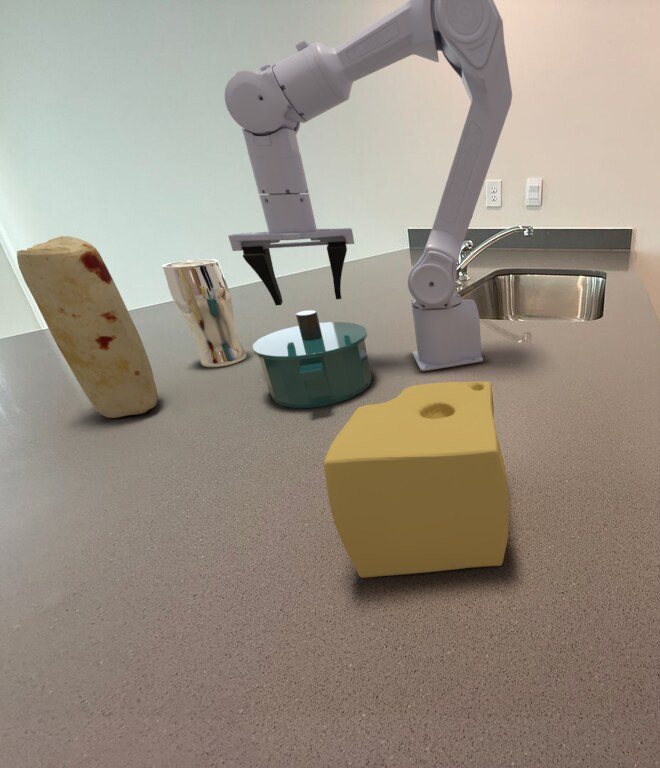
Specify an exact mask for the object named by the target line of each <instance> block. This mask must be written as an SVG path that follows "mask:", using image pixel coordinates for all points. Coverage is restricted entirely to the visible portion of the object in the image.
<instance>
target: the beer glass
mask: <svg viewBox="0 0 660 768" xmlns="http://www.w3.org/2000/svg"><path fill="white" fill-rule="evenodd" d="M162 270H163V272H164V277H165V280H166V284H167V288H168V290H169V294H170V296H171V298H172V301H173V303H174V305H175V307H176V309H177V311H178V313H179V315H180V317H181V318H182V319H183V321H184V323H185V324H186V327H187V328H188V329H189V331H190V332H191V334H192V336H193V338H194V340H195V342H196V345H197V348H198V352H199V353H198V354H199V360H200V365H201V366H202V367H205V368H222V367H227V366H232V365H235V364H237V363H240V362H242V361H244V360H245V359H246V358H247V353H246V351H245V349H244V347H243V346H242V343H241V342H240V339H239V337H238V334H237V330H236V323H235V315H234V306H233V301H232V297H231V296H232V295H231V292H230V289H229V286H228V283H227V281H226V278H225V275H224V273H223V270H222V269H221V265H220V263H219V260H217V259H193V260H192V259H191V260H183V261H176V262H169V263H166V264H165V263H164V264H163V265H162Z"/></svg>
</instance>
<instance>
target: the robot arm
mask: <svg viewBox="0 0 660 768" xmlns="http://www.w3.org/2000/svg"><path fill="white" fill-rule="evenodd" d="M503 21H504V20H503V18H502V17H501V14H500V12H499V9H498V8H497V5H496V3H495V1H494V0H408V1H406V2H405V3H403V4H401V6H399V7H397V8H396V9H394V10H393V11H390V12H389V13H388V14H387V15H385V16H383V17H382V18H380V19H379V20H377V21H376V22H374V23H372V24H371V25H369V26H368V27H366V28H365V29H363V30H361V31H359V32H358V33H357V34H355V35H353V36H352V37H350V38H349V39H347V40H346V41H344V42H342V43H341V44H339V45H338V46H336V47H331V46H328V45H326V44H323V43H322V42H319V41H314V42H313V43H311V44H309V42H307V40H306V39H303V40H301V41H299V42H298V43H296V44H295V49H296V50H297V52H295V53H293V54H292V55H290V56H288V57H286V58H284V59H282V60H280V61H279V62H277V63H275V64H273V65H270V64H268V63H264V64H263V65H260V66H259V70H260V71H261V72H260V73H258V72H256V71H253V70H249V69H248V70H247V69H241V70H240V69H239V70H238V71H236V73H235V74H234V75H233V76H232V77H231V78H230V79H229V80H228V81H227V83H226V85H225V88H224V102H225V106H226V109H227V112H228V113H229V115H230V117H231V118H232V119H233V120H234V122H236V124H237V125H239V126H240V128H241V131H242V134H243V140H244V142H245V146H246V150H247V155H248V159H249V163H250V167H251V170H252V174H253V178H254V182H255V186H256V189H257V194H258V197H259V200H260V205H261V208H262V212H263V217H264V220H265V223H266V227H267V231H253V232H241V233H239V232H238V233H230V234H228V235H227V236H228V240H229V243H230V246H231V250H232V252H240V251H242V253H243V254H242V258H243V260H245V262H246V263H247V264H248V265H249V267H250V268H251V269H252V270H253V272H255V273H256V275H257V276H258V277H259V279H260V280H261V281H262V283H263V285H264V286H265V288H266V289H267V291H268V293H269V294H270V296H271V298H272V300H273V303H274V305H275V306H282V304H283V302H284V301H283V297H282V296H283V295H282V293H281V289H280V287H279V284H278V281H277V278H276V274H275V270H274V266H273V260H272V255H271V250H270V249H280V248H281V249H282V248H297V247H298V248H299V247H315V246H326V252H327V256H328V261H329V265H330V270H331V275H332V280H333V291H334V296H335V300H341V299H342V292H341V290H342V289H341V287H342V285H341V283H342V273H343V269H344V263H345V260H346V255H347V251H348V248H347V245H355V240H354V234H353V233H354V232H353V229H352V228H351V227H349V228H348V227H347V228H317V224H316V219H315V215H314V210H313V205H312V201H311V196H310V193H309V187H308V182H307V178H306V174H305V168H304V164H303V158H302V154H301V152H300V148H299V143H298V137H297V135H298V132H299V130H300V128H301V123H302V124H305V123H308V121H311V120H313V119H314V118H316V117H318V116H321V115H322V114H324V113H326V112H328V111H330V110H332V109H333V108H335V107H337V106H339V105H341V104H343V103H344V102H347V101H348V100H350V97H351V91H352V87H353V84H354V82H356V81H358V80H361V79H363V78H365V77H367V76H369V75H371V74H374V73H375V72H378V71H380V70H382V69H384V68H386V67H389V66H391V65H394V64H395V63H397V62H399V61H402V60H404V59H406V58H409V57H411V56H418V57H421V58H423V59H426V60H429V61H432V62H435V63H440V58H439V53H438V52H441V53H442V55H443V57H444V59H445V60H446V62H447V63H448V64H449V66H450V67H451V68H452V70H454V72H455V73H456V74H457V76H458V77H459V78H460V79H461V82H462V84H463V87H464V89H465V91H466V94H467V96H468V99H469V101H470V106H469V110H468V111H467V115H466V118H465V122H464V125H463V127H462V128H463V129H462V131H461V134H460V138H459V142H458V145H457V148H456V150H455V154H454V156H453V160H452V164H451V167H450V170H449V173H448V177H447V179H446V183H445V186H444V189H443V192H442V196H441V199H440V202H439V205H438V208H437V212H436V215H435V217H434V221H433V224H432V228H431V231H430V234H429V236H428V239H427V242H426V244H425V247H424V250H423V253H422V254H421V256H420V257H419V258H418V259H417V261H416V263H415V264H414V265H413V266H412V267H411V269H410V271H409V272H408V276H407V287H408V291H409V293H410V295H411V296H412V299H411V300H410V303H411V309H412V319H413V326H414V335H415V343H416V350H413V351H412V356H413V357H414V360H415V362H416V364H417V366H418V369H419V370H420V371H421V372H429V371H434V370H440V369H446V368H453V367H458V366H464V365H470V364H476V363H477V364H478V363H482V362H484V358H483V357H482V356H483V355H482V339H481V338H482V337H481V321H480V314H479V310H478V306H477V304H476V302H475V300H473V299H470V298H469V299H462V296H461V295H460V294H459V293H458V291H456V289H457V288H456V287H457V276H458V270H457V264H458V261H459V257H460V256H461V251H462V249H463V245H464V241H465V238H466V235H467V233H468V230H469V227H470V224H471V221H472V217H473V215H474V213H475V209H476V207H477V204H478V201H479V198H480V195H481V192H482V189H483V186H484V183H485V181H486V177H487V174H488V171H489V169H490V166H491V163H492V160H493V157H494V154H495V151H496V148H497V146H498V143H499V140H500V137H501V134H502V131H503V127H504V125H505V124H506V123H505V122H506V120H507V116H508V114H509V111H510V108H511V105H512V101H513V100H512V99H513V89H512V83H511V76H510V69H509V63H508V56H507V51H506V45H505V33H504V22H503ZM309 239H310V241H299V240H309ZM296 240H297V242H295V241H296ZM281 241H294V242H281Z"/></svg>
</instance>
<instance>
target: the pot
mask: <svg viewBox="0 0 660 768" xmlns="http://www.w3.org/2000/svg"><path fill="white" fill-rule="evenodd" d="M365 340H366V339H365ZM365 340H364V341H363V342H361V343H360V344H358V345H356V346H354V347H352V348H350V349H347V350H344V351H341V352H338V353H335V354H331V355H326V356H321V357H316V358H310V359H301V360H270V359H265V358H261V357H258V359H259V362H260V365H261V369H262V373H263V375H264V378H265V382H266V385H267V388H268V391H269V395H270V396H271V399H272V400H273V402H274V403H275V404H277V405H279V406H281V407H285V408H292V409H312V408H319V407H326V406H329V405H334V404H338V403H341V402H344V401H347V400H350V399H351V398H354V397H356V396H358V395H360V394H361V393H362V392H365V390H367V389H368V388H369V386H370V385H371V384H372V373H371V368H370V363H369V358H368V352H367V346H366V341H365Z"/></svg>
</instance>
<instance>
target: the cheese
mask: <svg viewBox="0 0 660 768" xmlns="http://www.w3.org/2000/svg"><path fill="white" fill-rule="evenodd" d="M493 395H494V394H493V387H492V383H491V381H445V382H433V383H423V384H416V385H410V386H408V387H406V388H403V389H402V390H401V391H400V394H398V395H397V396H396V397H394V398H392V399H390V400H388V401H385V402H380V403H375V404H366V405H363V406H359V407H358V408H357V409H356V410H355V411H354V412H353V413H352V415H351V417H350V418H349V419H348V421H347V422H346V423H345V424H344V426H343V428H342V429H340V431H339V432H338V434H337V436H336V437H335V438H334V440H333V441H332V443H331V444H330V446H329V448H328V450H327V452H326V456H325V458H324V460H323V469H324V475H325V483H326V484H325V485H326V490H327V497H328V502H329V507H330V512H331V515H332V519H333V522H334V526H335V528H336V530H337V533H338V535H339V538H340V541H341V543H342V545H343V547H344V550H345V551H346V554H347V555H348V558H349V559H350V561H351V563H352V565H353V566H354V568H355V570H356V573H357V575H358V576H359V577H360V578H363V579H364V578H365V579H366V578H374V577H385V576H387V577H389V576H398V575H412V574H422V573H423V574H424V573H432V572H433V573H434V572H443V571H451V570H452V571H453V570H460V569H470V568H483V567H484V568H485V567H499V566H503V563H504V558H505V554H506V549H507V545H508V541H509V540H508V539H509V530H510V495H509V494H510V493H509V483H508V475H507V469H506V465H505V460H504V457H503V453H502V450H501V446H500V443H499V439H498V433H497V428H496V424H495V408H494V396H493Z"/></svg>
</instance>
